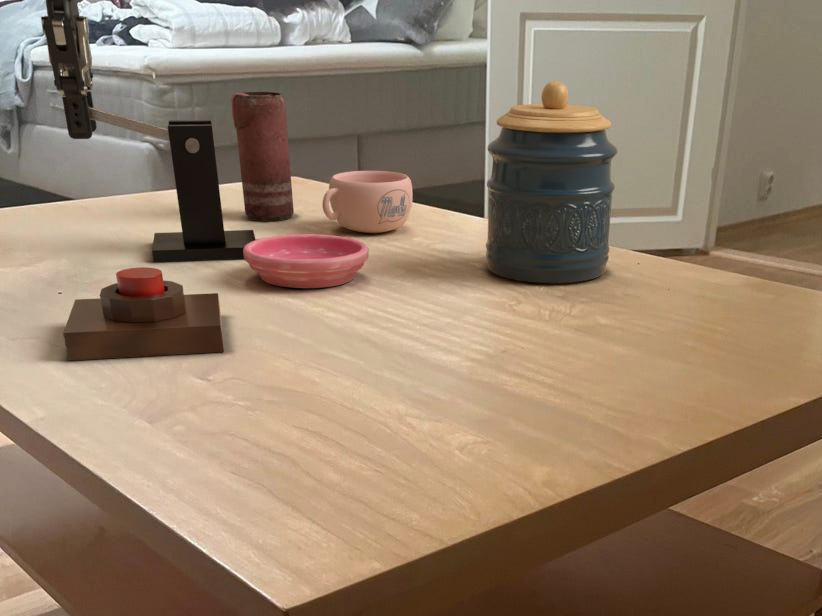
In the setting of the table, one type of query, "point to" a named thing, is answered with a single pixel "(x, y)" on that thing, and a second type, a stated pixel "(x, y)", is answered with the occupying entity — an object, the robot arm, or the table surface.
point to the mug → (369, 200)
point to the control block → (144, 324)
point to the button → (140, 282)
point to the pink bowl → (306, 259)
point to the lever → (128, 123)
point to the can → (263, 155)
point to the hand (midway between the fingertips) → (83, 134)
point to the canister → (550, 192)
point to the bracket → (197, 201)
